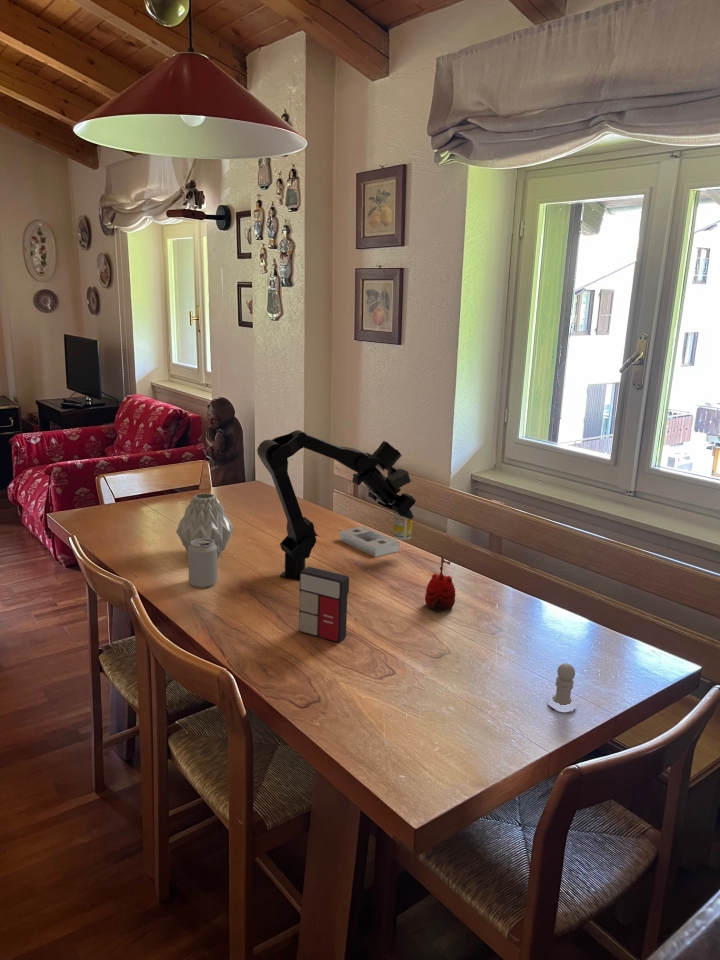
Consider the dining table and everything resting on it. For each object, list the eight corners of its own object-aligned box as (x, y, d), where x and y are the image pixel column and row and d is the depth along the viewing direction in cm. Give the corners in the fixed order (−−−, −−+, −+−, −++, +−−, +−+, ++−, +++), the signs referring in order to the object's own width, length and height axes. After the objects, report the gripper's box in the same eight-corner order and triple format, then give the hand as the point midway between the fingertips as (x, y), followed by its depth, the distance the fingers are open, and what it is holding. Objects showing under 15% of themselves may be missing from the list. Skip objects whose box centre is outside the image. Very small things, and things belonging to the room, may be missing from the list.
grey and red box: (297, 632, 164) (297, 572, 160) (306, 625, 168) (307, 566, 164) (338, 644, 159) (340, 582, 155) (347, 636, 163) (349, 576, 159)
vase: (239, 548, 216) (239, 489, 211) (224, 568, 200) (223, 505, 196) (187, 544, 217) (186, 486, 213) (168, 564, 202) (166, 501, 197)
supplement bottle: (395, 540, 208) (397, 509, 205) (391, 534, 213) (392, 504, 210) (413, 539, 209) (415, 508, 207) (408, 534, 214) (410, 503, 212)
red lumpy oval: (456, 604, 182) (460, 549, 178) (452, 615, 176) (456, 558, 172) (426, 599, 184) (430, 545, 180) (421, 611, 178) (425, 554, 174)
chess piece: (570, 698, 141) (575, 658, 139) (579, 714, 136) (584, 672, 133) (544, 698, 141) (548, 657, 138) (551, 714, 135) (556, 671, 133)
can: (201, 591, 184) (200, 548, 181) (183, 584, 189) (181, 541, 186) (223, 583, 190) (222, 541, 187) (204, 576, 194) (203, 534, 191)
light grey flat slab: (399, 551, 218) (399, 541, 217) (375, 557, 212) (375, 547, 212) (362, 534, 232) (362, 525, 231) (339, 540, 226) (339, 530, 225)
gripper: (411, 469, 195) (442, 503, 203) (379, 454, 211) (408, 487, 219) (385, 499, 194) (417, 532, 201) (354, 482, 210) (385, 514, 217)
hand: (407, 515), depth 210 cm, fingers closed on supplement bottle, 5 cm apart
